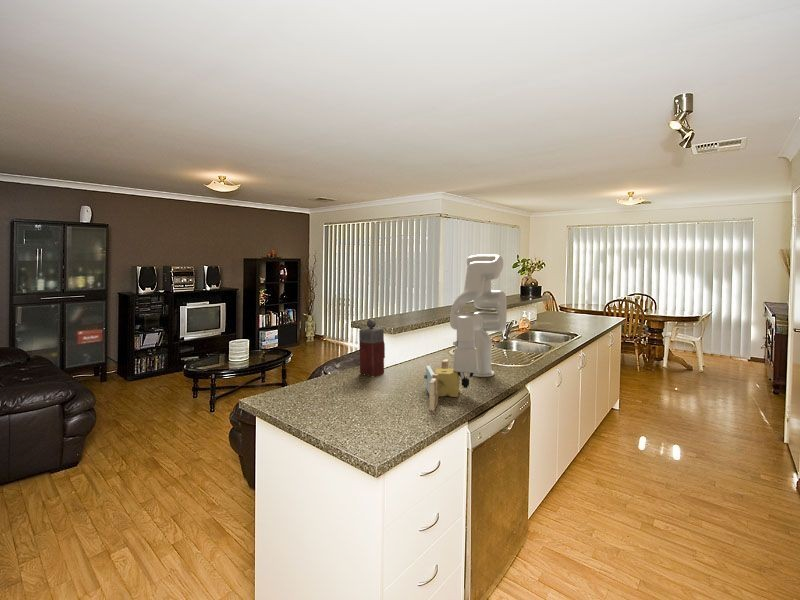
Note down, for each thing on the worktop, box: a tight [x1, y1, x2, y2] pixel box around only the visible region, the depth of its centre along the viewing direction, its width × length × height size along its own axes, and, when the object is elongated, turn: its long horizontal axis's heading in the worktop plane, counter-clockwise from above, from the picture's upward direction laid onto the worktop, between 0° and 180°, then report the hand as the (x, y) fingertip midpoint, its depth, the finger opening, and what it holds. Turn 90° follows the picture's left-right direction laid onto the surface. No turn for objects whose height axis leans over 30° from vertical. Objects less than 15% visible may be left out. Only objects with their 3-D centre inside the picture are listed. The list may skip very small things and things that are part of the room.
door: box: [423, 365, 435, 396], centre depth 183 cm, size 20×4×10 cm, turn 4°
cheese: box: [434, 367, 461, 398], centre depth 184 cm, size 10×11×10 cm
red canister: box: [358, 318, 386, 377], centre depth 219 cm, size 9×11×28 cm
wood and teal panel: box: [429, 358, 449, 412], centre depth 183 cm, size 40×2×12 cm, turn 166°
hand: (465, 387), depth 183 cm, fingers closed
